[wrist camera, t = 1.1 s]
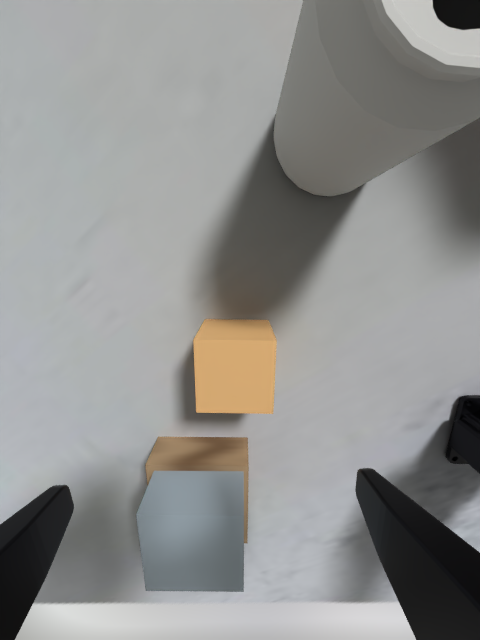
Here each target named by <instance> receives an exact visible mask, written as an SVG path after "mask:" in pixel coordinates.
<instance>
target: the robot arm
mask: <svg viewBox="0 0 480 640" xmlns="http://www.w3.org/2000/svg"><path fill="white" fill-rule="evenodd" d="M446 459H447V460H448V461H449V462H451V463H453V464H470V465H471V466H472V467H473V468H474V469H475V470H476V471H477V472H478V473H479V474H480V396H478V395H466V396H463V397H462V398H461V399H460V401H459V405H458V409H457V412H456V416H455V420H454V424H453V428H452V432H451V436H450V440H449V444H448V448H447V452H446ZM356 496H357V499H358V502H359V504H360V507H361V510H362V513H363V516H364V518H365V521H366V524H367V527H368V529H369V532H370V535H371V538H372V540H373V543H374V546H375V549H376V551H377V554H378V556H379V559H380V561H381V563H382V566H383V568H384V570H385V572H386V574H387V577H388V579H389V581H390V583H391V585H392V588H393V590H394V592H395V594H396V596H397V598H398V601H399V603H400V605H401V607H402V609H403V611H404V614H405V616H406V618H407V620H408V622H409V624H410V626H411V629H412V631H413V633H414V635H415V637H416V640H480V553H479V552H478V551H477V550H476V549H474V548H473V547H472V546H471V545H469V544H468V543H467V542H465V541H464V540H463V539H462V538H460V537H459V536H458V535H457V534H455V533H454V532H453V531H451V530H450V529H449V528H448V527H446V526H445V525H444V524H442V523H441V522H440V521H439V520H437V519H436V518H435V517H434V516H432V515H431V514H430V513H428V512H427V511H426V510H425V509H423V508H422V507H421V506H419V505H418V504H417V503H416V502H414V501H413V500H412V499H411V498H409V497H408V496H407V495H405V494H404V493H403V492H402V491H400V490H399V489H398V488H397V487H395V486H394V485H393V484H391V483H390V482H389V481H388V480H386V479H385V478H384V477H382V476H381V475H380V474H379V473H377V472H376V471H375V470H373V469H371V468H364V469H359V470H358V472H357V480H356ZM73 509H74V504H73V500H72V497H71V493H70V489H69V487H68V486H67V485H55V486H52V487H50V488H49V489H48V490H46V491H45V492H43V493H42V494H41V495H39V496H38V497H37V498H35V499H34V500H33V501H31V502H30V503H29V504H27V505H26V506H25V507H23V508H22V509H21V510H19V511H18V512H17V513H15V514H14V515H13V516H11V517H10V518H8V519H7V520H6V521H4V522H3V523H2V524H0V640H15V638H16V636H17V634H18V632H19V630H20V628H21V626H22V624H23V622H24V620H25V618H26V616H27V614H28V612H29V610H30V608H31V606H32V604H33V602H34V600H35V598H36V596H37V594H38V592H39V590H40V588H41V586H42V584H43V582H44V580H45V578H46V576H47V574H48V571H49V569H50V567H51V564H52V562H53V560H54V557H55V555H56V552H57V550H58V548H59V545H60V543H61V540H62V538H63V535H64V533H65V531H66V528H67V526H68V523H69V521H70V519H71V516H72V513H73Z"/></svg>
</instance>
